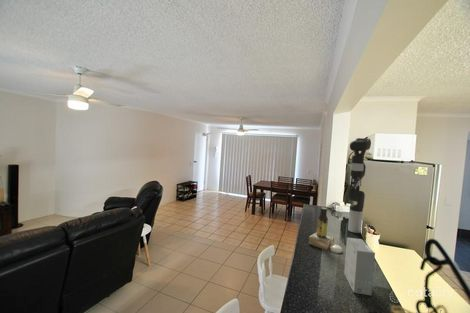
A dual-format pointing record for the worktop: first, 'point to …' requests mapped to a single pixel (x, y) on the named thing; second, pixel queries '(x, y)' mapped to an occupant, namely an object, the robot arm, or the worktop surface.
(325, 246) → the plinth
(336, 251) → the white round dome
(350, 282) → the hard drive box
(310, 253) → the worktop surface
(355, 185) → the robot arm
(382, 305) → the worktop surface
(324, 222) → the sauce bottle
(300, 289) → the worktop surface
